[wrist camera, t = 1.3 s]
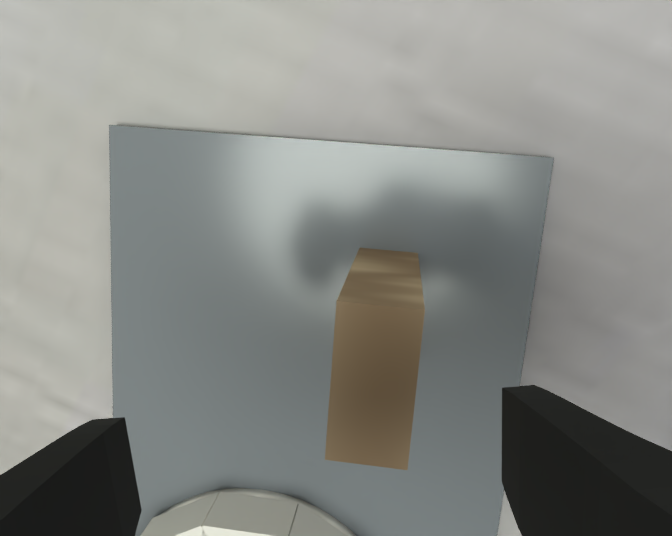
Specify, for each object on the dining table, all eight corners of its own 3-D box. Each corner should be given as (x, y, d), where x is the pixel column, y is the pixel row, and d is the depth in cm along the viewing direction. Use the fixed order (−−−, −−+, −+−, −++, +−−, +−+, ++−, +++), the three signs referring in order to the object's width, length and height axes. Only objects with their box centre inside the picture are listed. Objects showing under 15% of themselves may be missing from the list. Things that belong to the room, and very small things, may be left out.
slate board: (549, 157, 19) (553, 157, 19) (457, 775, 25) (459, 787, 24) (116, 125, 21) (109, 125, 20) (122, 715, 26) (116, 726, 26)
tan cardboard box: (418, 252, 20) (424, 309, 13) (406, 362, 21) (407, 470, 14) (359, 247, 20) (336, 301, 13) (350, 356, 21) (324, 459, 14)
